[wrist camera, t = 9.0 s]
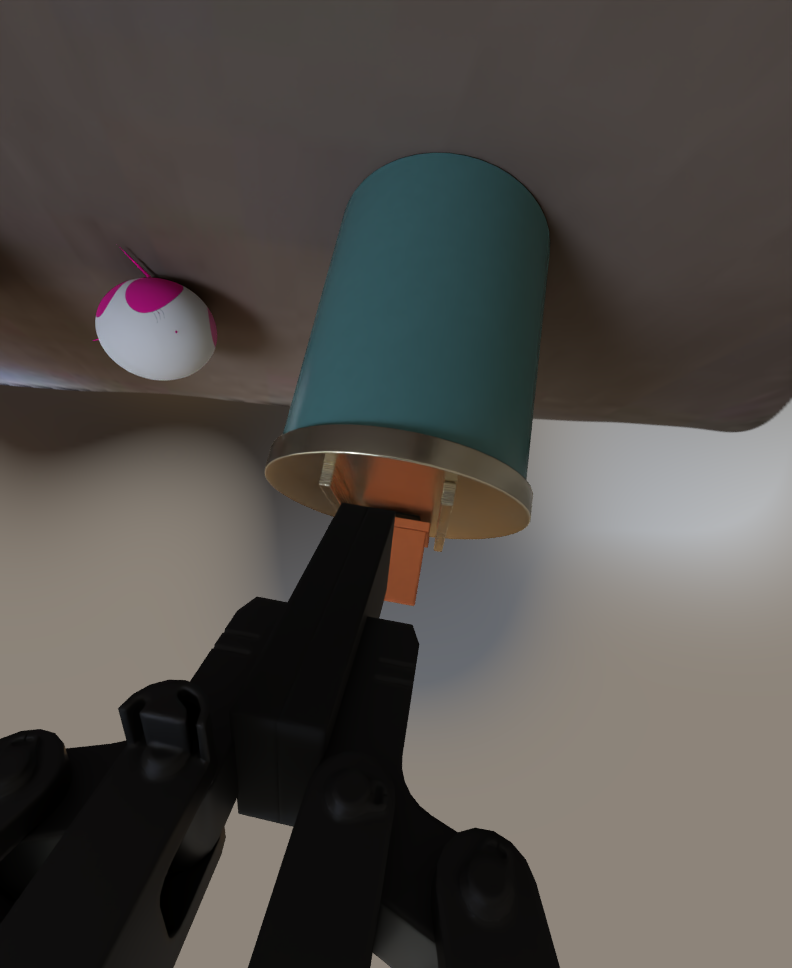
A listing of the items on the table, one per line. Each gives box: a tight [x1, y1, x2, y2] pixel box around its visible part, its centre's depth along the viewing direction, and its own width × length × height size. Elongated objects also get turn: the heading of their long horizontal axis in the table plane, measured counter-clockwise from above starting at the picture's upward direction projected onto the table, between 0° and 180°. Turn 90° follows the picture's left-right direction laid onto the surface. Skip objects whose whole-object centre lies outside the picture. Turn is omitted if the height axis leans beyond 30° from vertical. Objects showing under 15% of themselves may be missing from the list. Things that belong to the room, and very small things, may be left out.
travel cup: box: [265, 153, 550, 552], centre depth 21 cm, size 11×11×14 cm
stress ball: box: [93, 249, 217, 381], centre depth 29 cm, size 8×8×7 cm
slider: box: [384, 517, 430, 606], centre depth 21 cm, size 4×3×3 cm
